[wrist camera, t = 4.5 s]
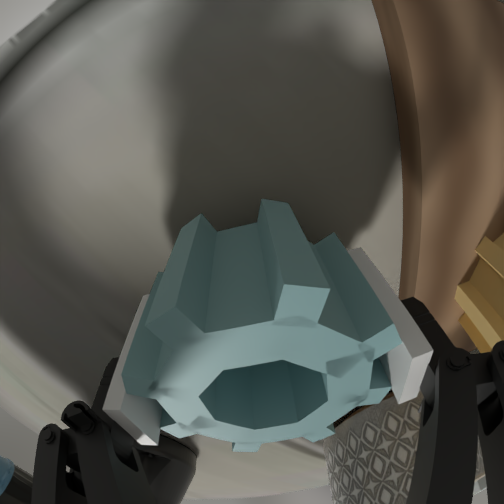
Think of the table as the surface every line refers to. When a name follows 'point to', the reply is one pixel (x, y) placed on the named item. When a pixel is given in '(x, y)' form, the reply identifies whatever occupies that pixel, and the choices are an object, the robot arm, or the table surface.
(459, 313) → the gear board
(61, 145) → the table surface
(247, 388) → the gear
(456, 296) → the gear out
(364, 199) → the table surface
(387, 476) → the planter
